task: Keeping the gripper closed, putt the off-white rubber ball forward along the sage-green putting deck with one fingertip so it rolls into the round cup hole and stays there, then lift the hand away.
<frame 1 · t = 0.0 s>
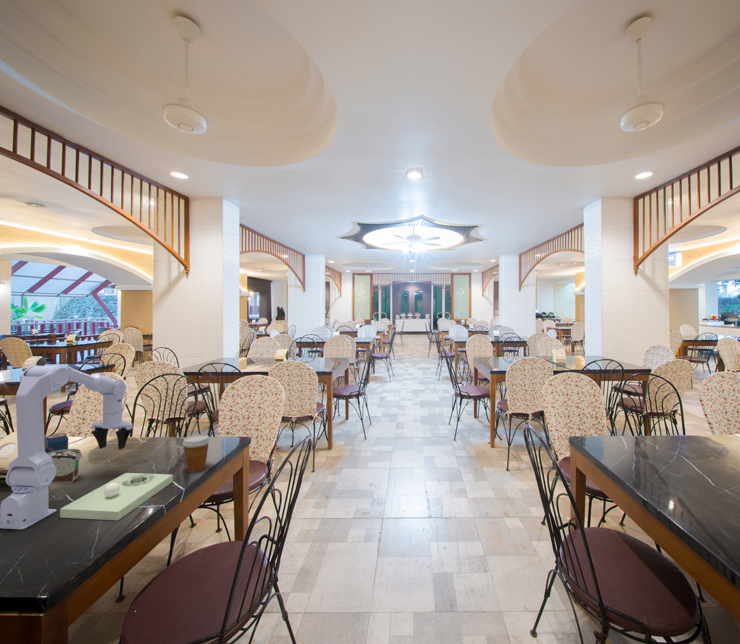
hand: (112, 448, 126), 10 cm above the table, tool pointing down, fingers open, 7 cm apart
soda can: (56, 466, 134), on the table
ball: (112, 489, 106), point 4 cm above the table, touching putting deck
food container: (66, 479, 123), on the table
disposable coffee cup: (196, 469, 132), on the table
putting deck: (122, 497, 110), on the table
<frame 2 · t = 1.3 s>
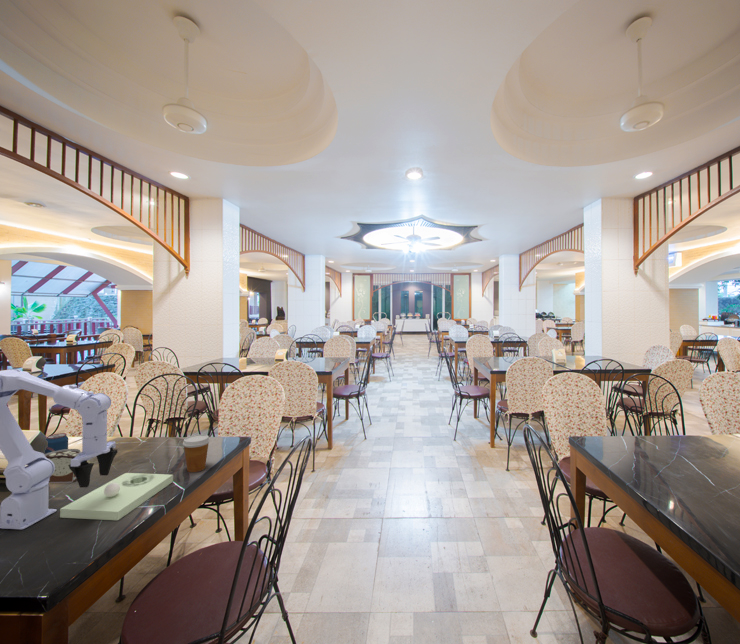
hand: (94, 480, 101), 9 cm above the table, tool pointing down, fingers open, 7 cm apart
nothing on the table moved.
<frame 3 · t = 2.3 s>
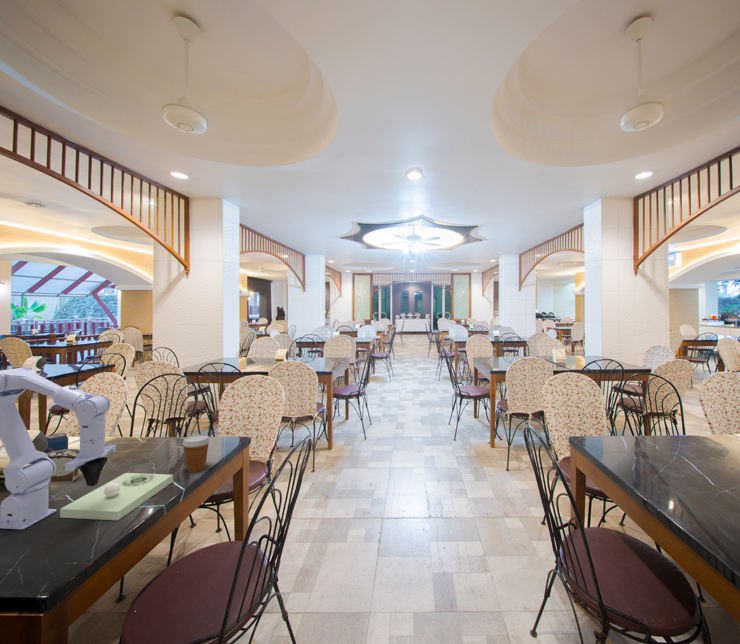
hand: (92, 484, 99), 9 cm above the table, tool pointing down, fingers closed
nothing on the table moved.
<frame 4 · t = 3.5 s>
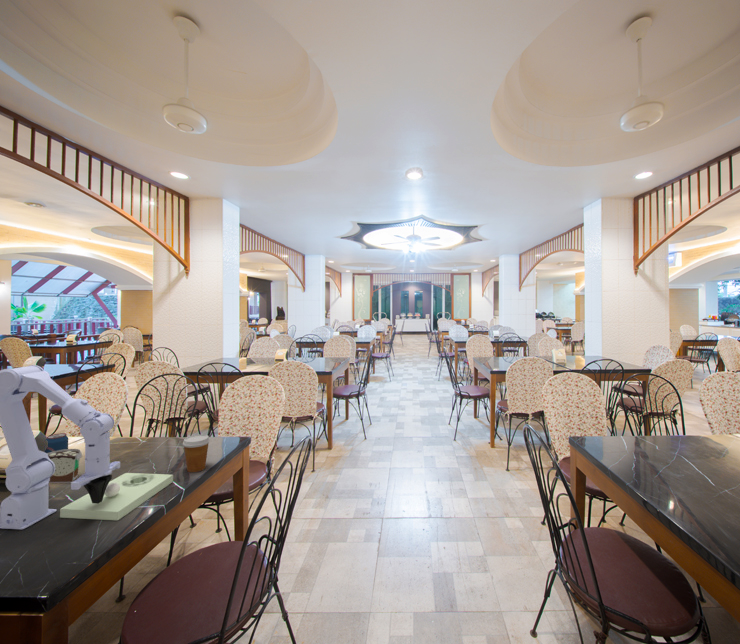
hand: (97, 502, 101), 3 cm above the table, tool pointing down, fingers closed
nothing on the table moved.
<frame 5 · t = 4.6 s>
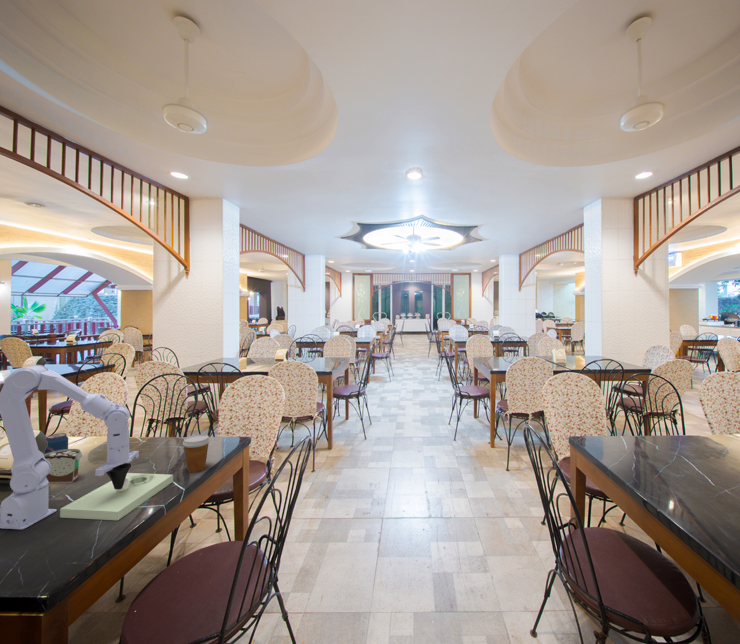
hand: (118, 488, 108), 4 cm above the table, tool pointing down, fingers closed, pressing on ball
ball: (121, 484, 109), point 4 cm above the table, tilted 104°, touching gripper, putting deck
everything else where it was.
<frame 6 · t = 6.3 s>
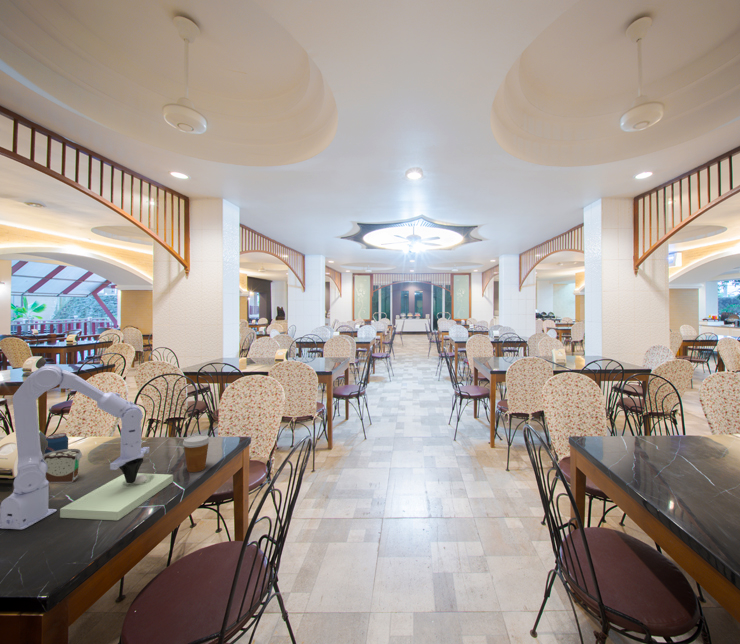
hand: (130, 482, 113), 3 cm above the table, tool pointing down, fingers closed
ball: (140, 481, 117), point 2 cm above the table, tilted 50°
everything else where it was.
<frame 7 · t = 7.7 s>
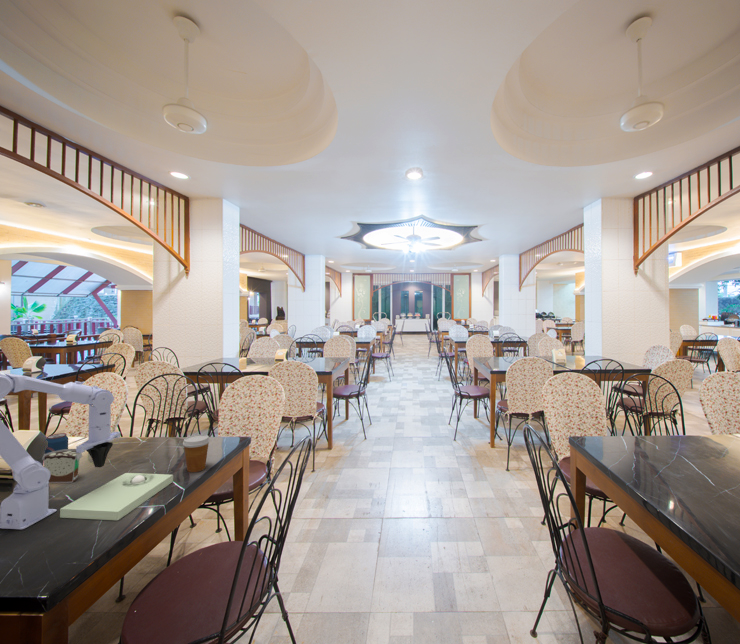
hand: (99, 466, 112), 9 cm above the table, tool pointing down, fingers closed
ball: (138, 481, 117), point 2 cm above the table, tilted 61°
everything else where it was.
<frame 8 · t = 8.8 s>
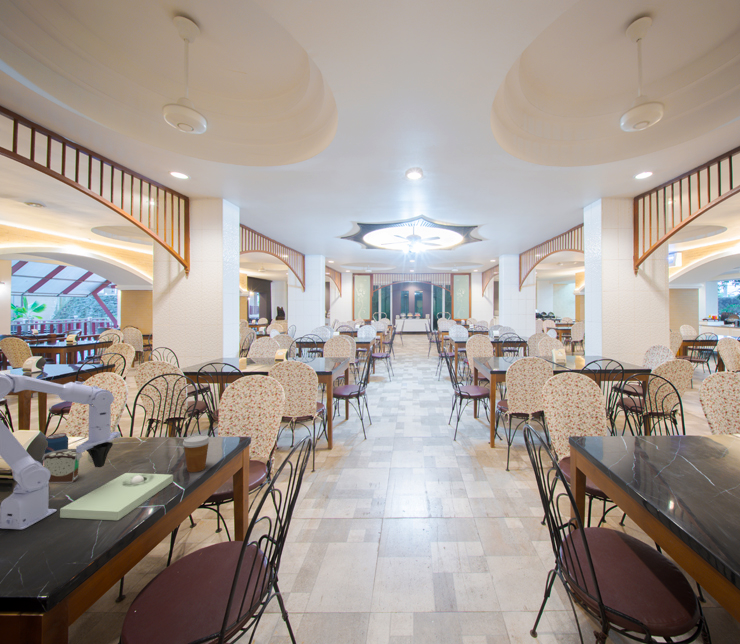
hand: (99, 466, 112), 9 cm above the table, tool pointing down, fingers closed
ball: (137, 481, 117), point 2 cm above the table, tilted 68°
everything else where it was.
at the end: ball 0.5 cm from the target spot in the putting deck, point 2.0 cm above the putting deck's base; ball touching table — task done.
